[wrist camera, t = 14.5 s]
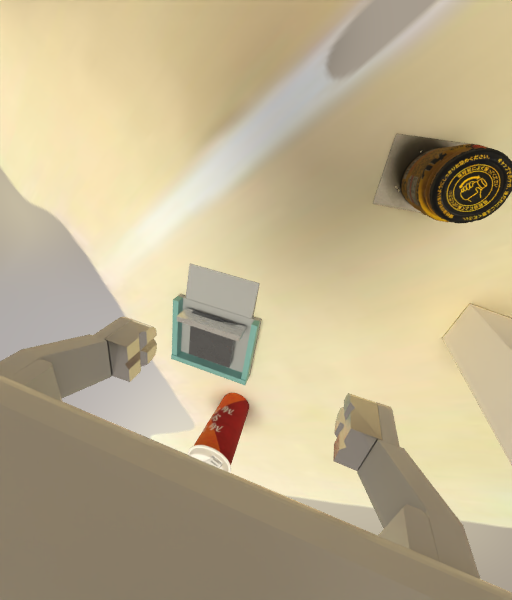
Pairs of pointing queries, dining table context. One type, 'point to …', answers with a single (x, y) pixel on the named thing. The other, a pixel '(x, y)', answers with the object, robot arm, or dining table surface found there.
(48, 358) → the robot arm
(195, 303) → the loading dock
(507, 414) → the milk
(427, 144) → the condiment
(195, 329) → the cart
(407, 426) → the dining table surface
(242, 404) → the paper cup
